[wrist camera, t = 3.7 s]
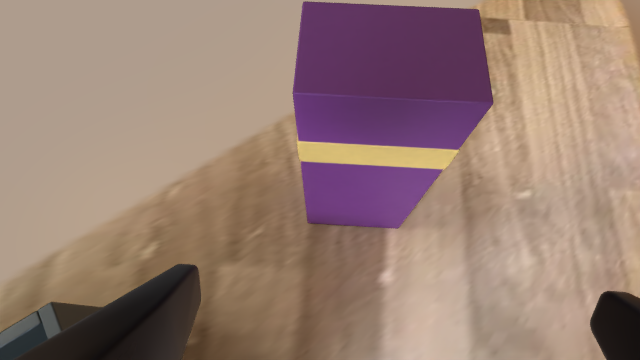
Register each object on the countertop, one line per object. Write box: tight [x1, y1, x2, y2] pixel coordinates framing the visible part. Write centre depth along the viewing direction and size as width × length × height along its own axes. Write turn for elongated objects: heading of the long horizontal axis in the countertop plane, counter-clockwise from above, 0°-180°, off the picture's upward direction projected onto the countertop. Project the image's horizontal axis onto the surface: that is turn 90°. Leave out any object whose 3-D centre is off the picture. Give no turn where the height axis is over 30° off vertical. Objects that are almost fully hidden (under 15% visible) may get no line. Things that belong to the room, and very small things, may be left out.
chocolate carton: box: [293, 2, 493, 228], centre depth 17 cm, size 4×6×13 cm, turn 86°
